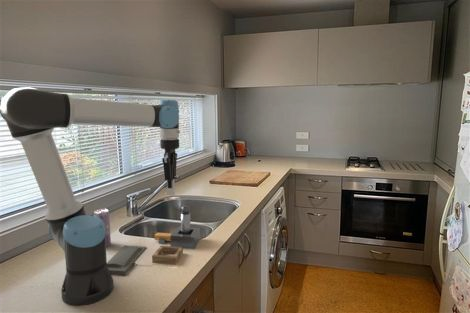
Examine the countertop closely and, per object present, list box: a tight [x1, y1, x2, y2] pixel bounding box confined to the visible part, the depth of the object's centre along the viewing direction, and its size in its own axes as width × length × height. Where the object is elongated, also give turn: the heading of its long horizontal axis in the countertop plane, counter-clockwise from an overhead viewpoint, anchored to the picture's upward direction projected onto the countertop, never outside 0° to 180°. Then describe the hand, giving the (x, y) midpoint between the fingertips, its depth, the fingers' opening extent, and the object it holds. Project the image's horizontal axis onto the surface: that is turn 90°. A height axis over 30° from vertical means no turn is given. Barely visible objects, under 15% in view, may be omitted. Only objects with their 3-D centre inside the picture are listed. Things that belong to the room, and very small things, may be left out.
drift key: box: [154, 232, 172, 242], centre depth 139 cm, size 3×7×2 cm, turn 82°
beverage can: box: [93, 208, 112, 248], centre depth 136 cm, size 6×6×15 cm
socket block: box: [158, 226, 201, 250], centre depth 139 cm, size 10×16×6 cm, turn 82°
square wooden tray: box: [151, 245, 184, 265], centre depth 125 cm, size 9×9×4 cm
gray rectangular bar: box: [180, 204, 191, 235], centre depth 137 cm, size 4×4×16 cm
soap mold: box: [107, 245, 147, 276], centre depth 124 cm, size 10×20×4 cm, turn 173°
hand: (170, 194), depth 136 cm, fingers closed
